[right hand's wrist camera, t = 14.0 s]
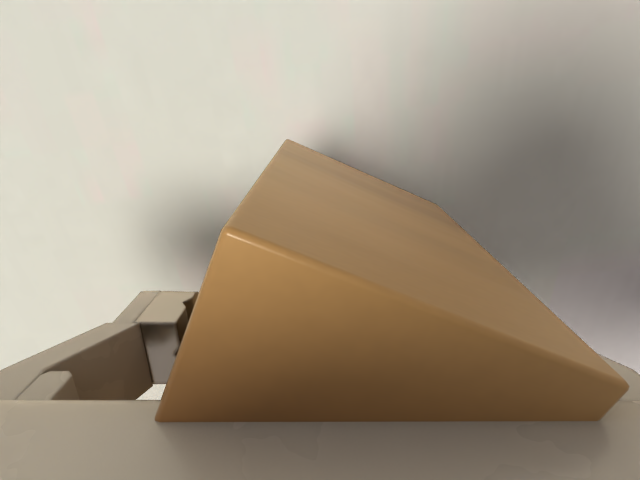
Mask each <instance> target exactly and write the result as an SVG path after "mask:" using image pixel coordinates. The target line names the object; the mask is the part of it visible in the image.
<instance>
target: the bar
mask: <svg viewBox="0 0 640 480" xmlns="http://www.w3.org/2000/svg"><path fill="white" fill-rule="evenodd" d="M629 387H630V386H629V385H628V383H627V382H626V381H625V379H623V378H622V377H621V376H620V375H619V374H618V373H617V372H616V371H615V370H614V369H613V368H612V367H611V366H610V365H608V364H607V363H606V362H605V361H604V360H603V359H602V358H601V357H600V356H599V355H598V354H597V353H596V352H595V351H593V350H592V349H591V348H590V347H589V346H588V345H587V344H586V343H585V342H584V341H583V340H582V339H581V338H579V337H578V336H577V335H576V334H575V333H574V332H573V331H572V330H571V329H570V328H569V327H568V326H567V325H566V324H564V323H563V322H562V321H561V320H560V319H559V318H558V317H557V316H556V315H555V314H554V313H553V312H552V311H551V310H549V309H548V308H547V307H546V306H545V305H544V304H543V303H542V302H541V301H540V300H539V299H538V298H537V297H536V296H534V295H533V294H532V293H531V292H530V291H529V290H528V289H527V288H526V287H525V286H524V285H523V284H522V283H520V282H519V281H518V280H517V279H516V278H515V277H514V276H513V275H512V274H511V273H510V272H509V271H508V270H507V269H505V268H504V267H503V266H502V265H501V264H500V263H499V262H498V261H497V260H496V259H495V258H494V257H493V256H492V255H490V254H489V253H488V252H487V251H486V250H485V249H484V248H483V247H482V246H481V245H480V244H479V243H478V242H477V241H475V240H474V239H473V238H472V237H471V236H470V235H469V234H468V233H467V232H466V231H465V230H464V229H463V228H462V227H460V226H459V225H458V224H457V223H456V222H455V221H454V220H453V219H452V218H451V217H450V216H449V215H448V214H446V213H445V212H444V211H443V210H442V209H441V208H440V207H439V206H438V205H437V204H434V203H432V202H430V201H427V200H425V199H423V198H421V197H418V196H416V195H414V194H412V193H409V192H407V191H405V190H403V189H400V188H398V187H396V186H393V185H391V184H389V183H387V182H384V181H382V180H380V179H378V178H375V177H373V176H371V175H368V174H366V173H364V172H362V171H359V170H357V169H355V168H353V167H350V166H348V165H346V164H343V163H341V162H339V161H337V160H334V159H332V158H330V157H328V156H325V155H323V154H321V153H318V152H316V151H314V150H312V149H309V148H307V147H305V146H303V145H300V144H298V143H296V142H294V141H291V140H289V139H287V140H286V141H285V142H284V143H283V145H282V146H281V147H280V149H279V150H278V152H277V153H276V154H275V156H274V157H273V159H272V160H271V161H270V163H269V164H268V165H267V167H266V168H265V170H264V171H263V172H262V174H261V175H260V177H259V178H258V179H257V181H256V182H255V184H254V185H253V186H252V188H251V189H250V191H249V192H248V193H247V195H246V196H245V198H244V199H243V200H242V202H241V203H240V205H239V206H238V207H237V209H236V210H235V212H234V213H233V214H232V216H231V217H230V219H229V220H228V221H227V223H226V224H225V226H224V227H223V228H222V230H221V232H220V235H219V238H218V241H217V243H216V246H215V249H214V252H213V255H212V257H211V260H210V263H209V266H208V269H207V272H206V274H205V277H204V280H203V283H202V286H201V288H200V291H199V294H198V297H197V300H196V302H195V305H194V308H193V311H192V314H191V316H190V319H189V322H188V325H187V328H186V331H185V333H184V336H183V339H182V342H181V345H180V347H179V350H178V353H177V356H176V359H175V361H174V364H173V367H172V370H171V373H170V376H169V378H168V381H167V384H166V387H165V390H164V392H163V395H162V398H161V401H160V404H159V406H158V409H157V412H156V415H155V421H157V422H449V421H598V420H600V419H601V418H602V417H603V416H604V415H605V414H606V413H607V412H608V411H609V410H610V409H611V408H612V407H613V406H614V405H615V404H616V403H617V402H618V401H619V400H620V399H621V397H622V396H623V395H624V394H625V393H626V392H627V391H628V389H629Z"/></svg>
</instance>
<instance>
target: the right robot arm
mask: <svg viewBox="0 0 640 480" xmlns="http://www.w3.org/2000/svg"><path fill="white" fill-rule="evenodd" d="M198 294H199V292H184V291H143V292H140V293H139V294H138V296H137V297H136V298H135V299H134V300H133V301H132V302H131V303H130V304H129V305H128V306H127V308H126V309H125V310H124V311H123V312H122V313H121V314H120V315H119V316H118V317H117V318H116V320H115V321H114V322H113V323H105V324H103V325H101V326H99V327H96V328H94V329H92V330H90V331H87V332H85V333H83V334H81V335H78V336H76V337H74V338H72V339H69V340H67V341H65V342H63V343H60V344H58V345H56V346H54V347H51V348H49V349H47V350H45V351H42V352H40V353H38V354H36V355H33V356H31V357H29V358H27V359H25V360H22V361H20V362H18V363H16V364H13V365H11V366H9V367H7V368H4V369H2V370H1V371H0V480H640V375H639V374H638V373H637V372H635V371H634V370H632V369H630V368H628V367H626V366H624V365H621V364H619V363H617V362H615V361H613V360H610V359H608V358H606V357H604V356H601V355H599V354H598V355H599V356H600V357H601V358H602V359H603V360H604V361H605V362H606V363H607V364H608V365H610V366H611V367H612V368H613V369H614V370H615V371H616V372H617V373H618V374H619V375H620V376H621V377H622V378H623V379H625V381H626V382H627V383H628V385H629V386H630V387H629V389H628V391H627V392H626V393H625V394H624V395H623V396H622V397H621V399H620V400H619V401H618V402H617V403H616V404H615V405H614V406H613V407H612V408H611V409H610V410H609V411H608V412H607V413H606V414H605V415H604V416H603V417H602V418H601V419H600V420H598V421H449V422H157V421H155V415H156V412H157V409H158V406H159V404H160V401H161V400H136V399H137V398H138V397H140V396H141V395H142V394H143V393H145V392H146V391H147V390H148V389H149V388H151V387H152V386H153V384H167V381H168V378H169V376H170V373H171V370H172V367H173V364H174V361H175V359H176V356H177V353H178V350H179V347H180V345H181V342H182V339H183V336H184V333H185V331H186V328H187V325H188V322H189V319H190V316H191V314H192V311H193V308H194V305H195V302H196V300H197V297H198Z"/></svg>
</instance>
